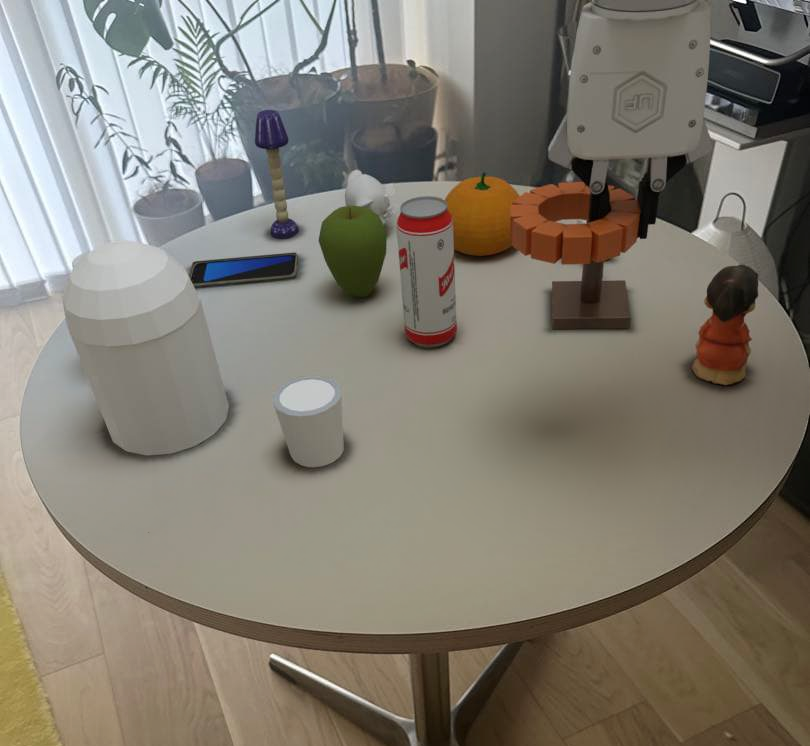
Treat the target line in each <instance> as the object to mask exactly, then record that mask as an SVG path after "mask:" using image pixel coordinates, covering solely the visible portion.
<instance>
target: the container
mask: <svg viewBox="0 0 810 746" xmlns="http://www.w3.org/2000/svg"><path fill="white" fill-rule="evenodd" d="M90 251H91V252H89V251H88V252H89V253H88V254H87V255H86V256H85V257H84V258H83V259H82V260H80V261H79V262H78V263H77V264H76V265H75V266H74V268H73V267H72V270H71V271H70V273H69V275H68V279H67V282H66V285H65V288H64V291H63V295H62V298H61V300H62V304H63V305H62V306H63V312H64V318H65V323H66V326H67V330H68V333H69V335H70V337H71V340H72V343H73V345H74V348H75V350H76V353H77V355H78V357H79V360H80V363H81V366H82V368H83V370H84V373H85V375H86V377H87V381H88V383H89V385H90V388H91V390H92V393H93V396H94V398H95V400H96V403H97V406H98V408H99V411H100V413H101V415H102V417H103V420H104V423H105V425H106V428H107V430H108V434H109V436H110V438H111V441H112V442H113V444H115V445H116V446H118V447H119V448H121V449H122V450H123V451H125V452H127V453H132V454H137V455H141V456H147V457H148V456H159V455H160V456H161V455H172V454H175V453H179V452H181V451H184V450H185V451H186V450H187V449H190V448H194V447H196V446H198V445H199V444H201V443H202V442H205V441H206V440H207V439H209V438H211V437H212V436H214V435H215V434H216V433H217V432H218V431H219V429H220V428H221V427H222V426H224V423H225V422H226V421H227V418H228V412H229V407H230V405H229V401H228V398H227V394H226V390H225V386H224V383H223V379H222V374H221V371H220V368H219V363H218V360H217V356H216V353H215V348H214V345H213V342H212V337H211V334H210V330H209V327H208V322H207V319H206V315H205V311H204V307H203V303H202V300H201V297H200V295H199V293H198V291H197V290H196V288H195V286H193V284H192V282H191V280H190V278H189V273H187V270H186V269H185V267H184V266H183V265H182V264H181V263H180V262H179V261H177V260H176V259H175V258H174V257H172V256H171V255H170V254H169V253H167V252H166V251H165V250H163V249H162V248H159V247H157V246H155V245H152V244H147V243H143V242H138V241H135V240H126V239H121V240H114V241H110V242H106V243H103V244H100V245H98V246H96V247H95V248H93V249H92V250H90Z"/></svg>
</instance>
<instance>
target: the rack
mask: <svg viewBox="0 0 810 746" xmlns="http://www.w3.org/2000/svg"><path fill="white" fill-rule="evenodd" d="M586 223H588V221H586ZM604 266H605V260H604V261H601V262H598V263H596V262H595V261H594V260H592V259H591V258H590V264H582V272H581V273H582V274H581V280H561V281H560V280H554V281H551V312H552V313H551V314H552V315H551V316H552V317H551V318H552V330H610V329H611V330H620V329H621V330H627V329H630V327H631V320H632V318H631V317H632V316H631V309H630V303H629V296H628V289H627V282H626V280H625V279H623V280H621V279H619V280H603V276H604V275H603V274H604V268H605V267H604Z"/></svg>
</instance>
